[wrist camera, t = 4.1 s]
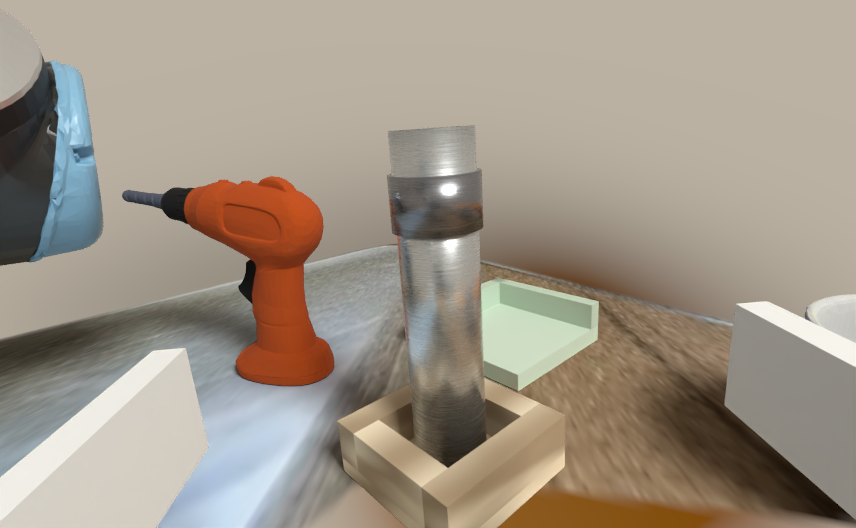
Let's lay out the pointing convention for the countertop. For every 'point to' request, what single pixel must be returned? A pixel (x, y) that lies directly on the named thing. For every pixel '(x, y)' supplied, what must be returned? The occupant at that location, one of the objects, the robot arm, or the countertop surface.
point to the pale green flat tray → (532, 330)
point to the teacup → (835, 315)
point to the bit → (441, 284)
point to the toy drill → (262, 267)
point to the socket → (467, 478)
